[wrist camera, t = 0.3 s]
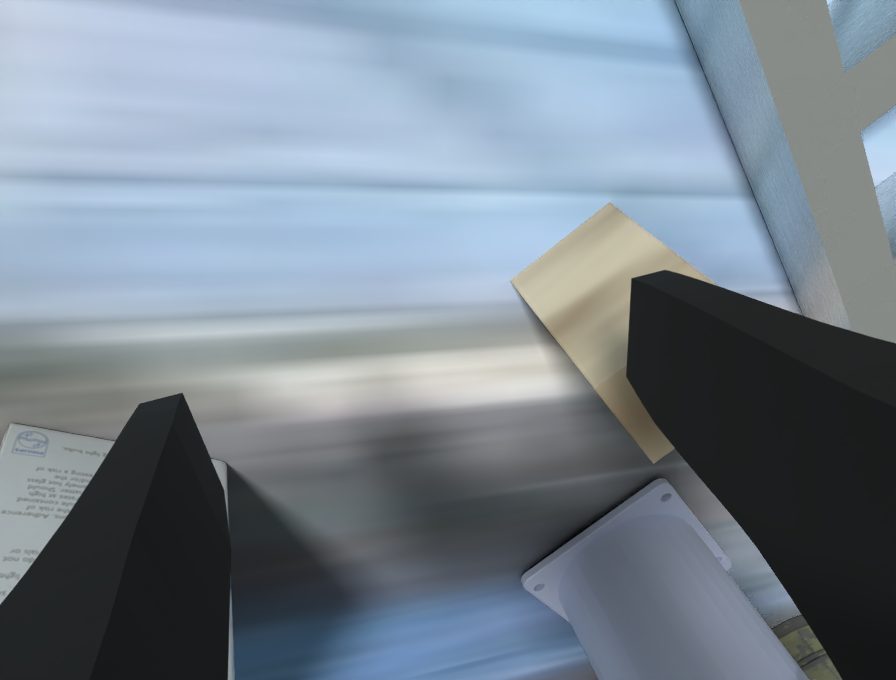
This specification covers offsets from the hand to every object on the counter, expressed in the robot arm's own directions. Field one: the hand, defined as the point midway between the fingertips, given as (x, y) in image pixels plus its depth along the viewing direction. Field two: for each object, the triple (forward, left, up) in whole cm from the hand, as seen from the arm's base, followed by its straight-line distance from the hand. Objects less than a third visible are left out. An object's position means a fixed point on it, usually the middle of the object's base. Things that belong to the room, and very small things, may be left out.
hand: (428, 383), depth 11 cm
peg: (-8, -4, -10) cm, 13 cm away
